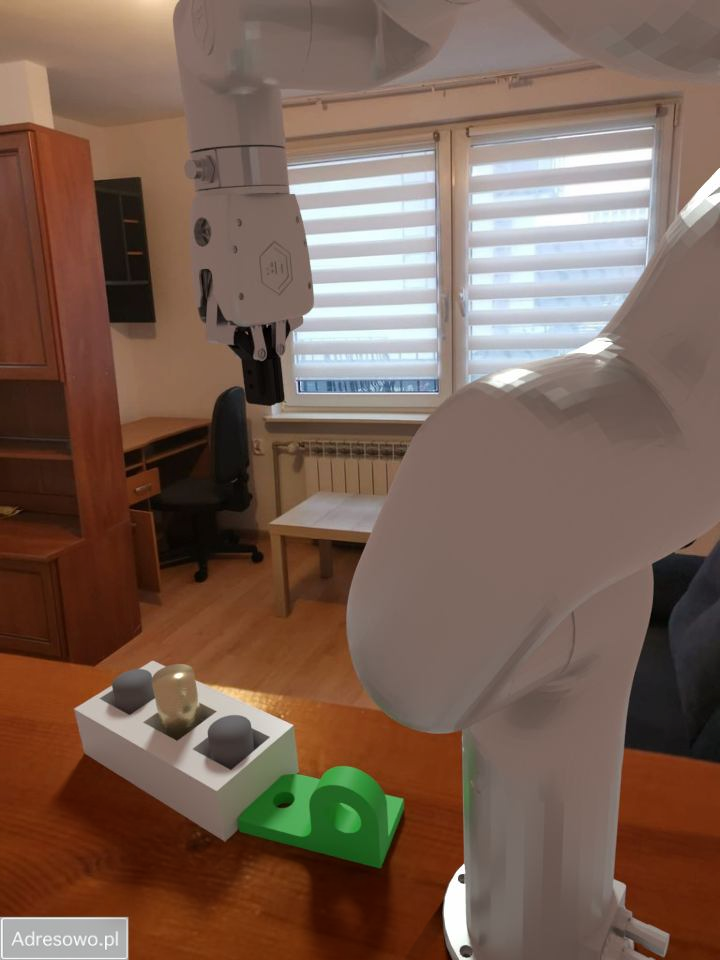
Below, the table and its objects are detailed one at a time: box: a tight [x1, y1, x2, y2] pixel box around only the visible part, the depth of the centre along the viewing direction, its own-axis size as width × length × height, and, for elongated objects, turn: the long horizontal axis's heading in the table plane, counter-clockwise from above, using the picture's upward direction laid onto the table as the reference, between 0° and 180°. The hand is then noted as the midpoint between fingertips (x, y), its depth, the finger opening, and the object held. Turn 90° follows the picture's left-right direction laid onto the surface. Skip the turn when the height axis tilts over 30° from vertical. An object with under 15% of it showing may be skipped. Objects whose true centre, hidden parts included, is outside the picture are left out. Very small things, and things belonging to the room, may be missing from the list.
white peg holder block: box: [73, 660, 300, 842], centre depth 65 cm, size 19×9×6 cm, turn 54°
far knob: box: [111, 668, 155, 715], centre depth 68 cm, size 4×4×6 cm
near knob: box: [208, 715, 254, 770], centre depth 61 cm, size 4×4×6 cm
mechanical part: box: [238, 765, 405, 869], centre depth 57 cm, size 12×6×8 cm, turn 70°
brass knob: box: [152, 663, 202, 741], centre depth 63 cm, size 4×4×6 cm
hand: (265, 402), depth 63 cm, fingers closed
